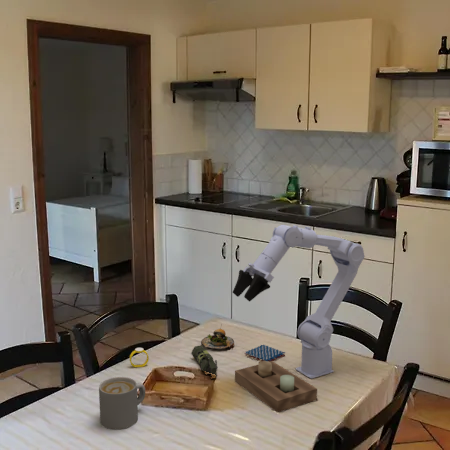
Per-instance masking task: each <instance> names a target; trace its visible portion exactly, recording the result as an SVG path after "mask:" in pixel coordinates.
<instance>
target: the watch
mask: <svg viewBox="0 0 450 450" xmlns="http://www.w3.org/2000/svg"><path fill="white" fill-rule="evenodd" d="M136 353H137V354H138V353H139V354H141V353H144V354H145V355H146V360H145V362H143V363H141V364H135V363H133V362H132V358H133V356H134V354H136ZM149 360H150V359H149V354H148V352H147V351H146V350H144V348H143V347H136V348H135V349H134V350H132V352H131V353H130V354H129V362H130V364H131V366H132V367H133V368H144V367H146V365H147V364H148V362H149Z"/></svg>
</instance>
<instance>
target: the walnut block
mask: <svg viewBox="0 0 450 450" xmlns="http://www.w3.org/2000/svg"><path fill="white" fill-rule="evenodd" d="M270 362H271V363H272V373H271V376H269V377H266V378H265V377H260V376H259V375H258V364H255V365H252V366H248V367H244V368H240V369H237V370H234V382H235V383H236V384H238V385H239V386H241V387H242V388H243V389H244V390H245V391H247V392H249V393H250V394H251V395H252V396H254V397H256V398H257V399H258V400H260V401H261V402H262V403H264V404H265V405H266V406H267V407H269V408H271V409H272V410H273V411H274V412H275V413H280V412H284V411H286V410H287V411H288V410H290V409H294V408H297V407H299V406H303V405H307V404H308V403H312V402H314V401H317V400H318V388H316V387H315V386H313V385H311V384H310V383H309V382H307V381H305V380H304V379H302V378H300V377H299V376H297V375H296V374H294V373H293V372H291V371H289V370H287V369H286V368H284V367H283V366H281V365H279V364H278V363H276V362H275V361H270ZM282 375H291V376H293V377H294V391H292V392H283V391H281V390H280V377H281V376H282Z"/></svg>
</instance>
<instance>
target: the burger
mask: <svg viewBox="0 0 450 450" xmlns="http://www.w3.org/2000/svg"><path fill="white" fill-rule="evenodd" d="M220 326H222V323H221V325H220ZM212 334H213V335H211V334H210V333H209V334H208V335H207V336H206V337H204V338H202V339H201V341H200V343H201V345H202V346H203V347H204V346H205V347H206V348H209V349H214V350H223V349H227V348H229V349H228V350H232V349H234V346H235V341H234V339H233V338H232V337H230V336H226V331H225V330H224V329H223V328H217V329H215V330H213V332H212Z"/></svg>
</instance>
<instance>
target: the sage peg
mask: <svg viewBox="0 0 450 450" xmlns="http://www.w3.org/2000/svg"><path fill="white" fill-rule="evenodd" d="M280 390H281V391H283V392H292V391H294V377H293V376H291V375H282V376H281V377H280Z"/></svg>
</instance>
